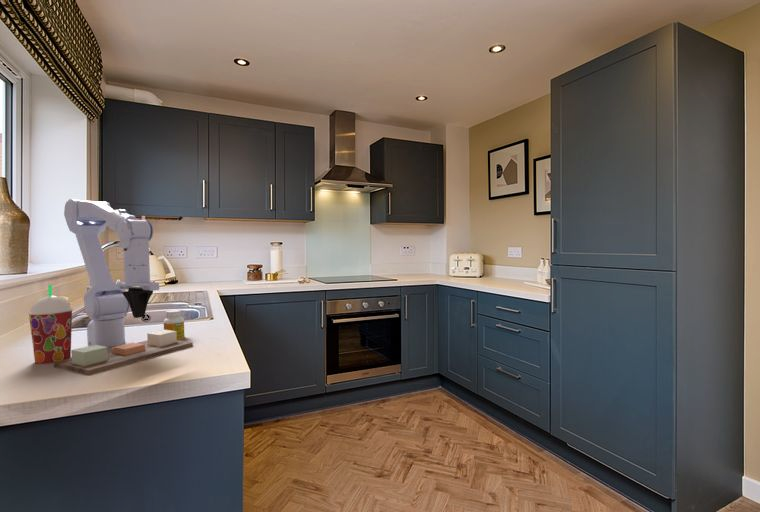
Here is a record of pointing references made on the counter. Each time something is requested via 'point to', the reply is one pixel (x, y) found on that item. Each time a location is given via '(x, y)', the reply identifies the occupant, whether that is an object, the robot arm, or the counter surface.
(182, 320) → the supplement bottle
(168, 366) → the counter surface
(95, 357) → the key sage
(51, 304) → the smoothie
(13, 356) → the counter surface
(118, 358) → the brown rectangular tray
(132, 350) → the key terracotta
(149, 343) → the key cream
